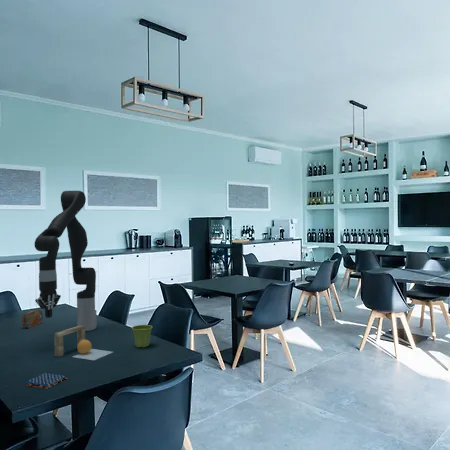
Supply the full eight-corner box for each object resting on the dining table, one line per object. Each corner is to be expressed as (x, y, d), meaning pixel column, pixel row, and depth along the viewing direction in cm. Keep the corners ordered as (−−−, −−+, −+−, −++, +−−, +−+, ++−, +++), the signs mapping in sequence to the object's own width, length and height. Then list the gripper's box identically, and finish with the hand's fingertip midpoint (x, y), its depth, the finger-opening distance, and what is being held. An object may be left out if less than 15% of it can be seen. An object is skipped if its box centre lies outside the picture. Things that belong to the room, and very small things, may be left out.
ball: (83, 339, 186) (92, 336, 183) (86, 352, 185) (96, 349, 183) (72, 343, 181) (81, 340, 178) (76, 357, 180) (85, 354, 177)
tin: (26, 329, 227) (25, 313, 227) (20, 329, 228) (20, 313, 228) (43, 323, 242) (43, 308, 242) (38, 322, 243) (38, 308, 243)
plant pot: (145, 341, 199) (145, 323, 199) (156, 345, 192) (156, 326, 192) (128, 346, 192) (127, 327, 192) (139, 350, 186) (139, 330, 186)
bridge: (54, 355, 179) (54, 333, 179) (80, 346, 193) (80, 325, 193) (59, 356, 178) (59, 333, 178) (85, 347, 192) (85, 325, 192)
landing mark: (92, 349, 188) (92, 348, 188) (113, 352, 183) (113, 351, 183) (72, 357, 177) (72, 356, 177) (94, 360, 172) (94, 360, 172)
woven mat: (23, 387, 146) (23, 381, 146) (46, 377, 156) (46, 371, 156) (46, 391, 142) (46, 385, 142) (68, 380, 152) (68, 374, 152)
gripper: (41, 282, 183) (42, 321, 184) (65, 278, 195) (66, 315, 196) (29, 281, 187) (30, 320, 187) (53, 277, 199) (54, 313, 199)
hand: (48, 317), depth 191 cm, fingers closed
